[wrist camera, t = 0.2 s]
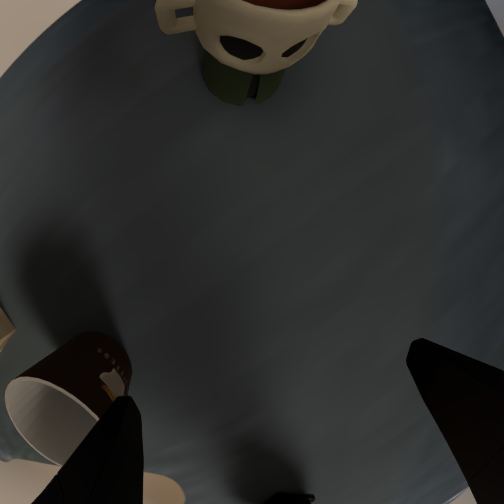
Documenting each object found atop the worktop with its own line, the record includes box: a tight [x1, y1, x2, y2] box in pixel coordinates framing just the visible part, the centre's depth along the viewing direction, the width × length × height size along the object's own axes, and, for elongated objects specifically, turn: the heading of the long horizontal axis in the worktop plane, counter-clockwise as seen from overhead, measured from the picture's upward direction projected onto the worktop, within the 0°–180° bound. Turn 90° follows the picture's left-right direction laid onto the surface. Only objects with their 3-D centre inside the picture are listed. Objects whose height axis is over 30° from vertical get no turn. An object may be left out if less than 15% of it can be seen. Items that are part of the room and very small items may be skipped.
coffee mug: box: [5, 332, 132, 467], centre depth 18 cm, size 12×9×10 cm
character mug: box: [154, 0, 358, 106], centre depth 14 cm, size 11×7×13 cm, turn 100°
